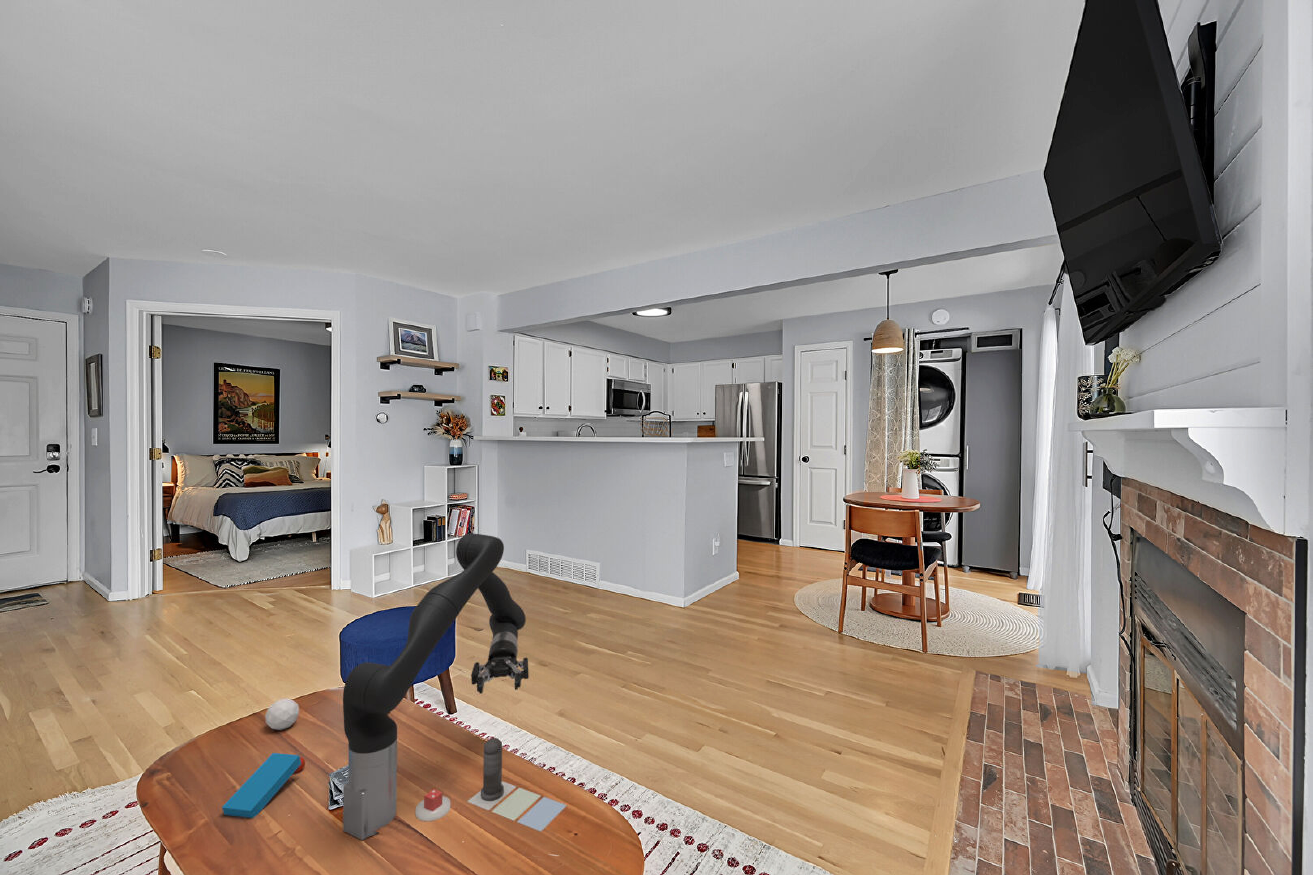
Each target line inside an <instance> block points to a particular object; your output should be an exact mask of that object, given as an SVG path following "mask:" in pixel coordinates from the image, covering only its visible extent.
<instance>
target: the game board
mask: <svg viewBox="0 0 1313 875" xmlns="http://www.w3.org/2000/svg"><path fill="white" fill-rule="evenodd" d="M502 785H503V786H504V794H503V796H502V797H501V798H499V799H497V800H494V801H485V800H483V799H482V798H481V790H479V791H478V792H477V793H475V795H474V796H472V797H470V798H469V799H468V800H467V801H466V802H467V803H469V804H472V805H474V806H476V807H479V808H481V809H484V810H487V811H490V810H491V809H492V808H493V807H494V806H495V807H494V808H493V809H492V810H491V813H494V814H496V815H499V816H502V817H504V818H506V819H507V820H508V819H509V820H511V821H515V820H516V819H518V818H519V817H520V816H521V815H523V813H524V812H525V811H526V810H528V809H529V807H531V806H532V805H533V804H534V803H535V802H536V801H537V800H539V798H541V797H542V795H541V794H538V793H534V792H532V791H529V790H527V789H524V788H522V787H518V788H517V786H516V785H513V784H510V783H509V782H505V781H502ZM516 788H517V789H516ZM514 789H516V790H514ZM513 790H514V792H513ZM510 793H511V794H510ZM509 794H510V795H509ZM508 795H509V796H508ZM507 796H508V797H507ZM505 797H506V798H505ZM504 798H505V799H504ZM503 799H504V800H503ZM502 800H503V801H502ZM500 801H502V802H501V803H499V802H500ZM498 803H499V804H498ZM497 804H498V805H497ZM496 805H497V806H496ZM566 807H567V804H565V803H563V802H559V801H557V800H555V799H551V798H548V797H546V796H543V797H542V798H541V799H540V800H539V801H538V802H537V803H536V804H535V805H534V806H532V807H531V808H530V809H529V810H528V811H527V812H526V813H525V814H524V815H523V816H522V817H521V818H520V819H518V820H517V823H518V824H521V825H523V826H526V827H528V828H531V829H534V830H536V831H538V832H543V830H544V829H545V828H546V827H547V826H548V825H549V824H550V823H551V822H552V821H553V820H554V819H555V818H556V817H557V816H558V815H559V814H560V813H561V812H562V811H563V810H564V809H566Z"/></svg>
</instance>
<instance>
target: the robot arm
mask: <svg viewBox="0 0 1313 875" xmlns="http://www.w3.org/2000/svg"><path fill="white" fill-rule="evenodd" d="M456 544H457V545H456V551H455V554H456V559H457V562H458V563H459V565H460V567H461V568H462V569H463V570H462V571H461V572H459V573H457V574H456V575H454V576H452V577H450V578H448V579H445V580H444V581H442V582H441V583H439V584H437V585H436V586H433V587H432V588H431V589H430V590H429V591H427V593H426V594H425V595H424V596H423V598H422V599H421V600H420V601H419V603H418V604H417V605H416V606H415V607H414V608H413V611H412V612H411V615H410V617H409V623H408V632H407V633H408V634H407V641H406V644H405V646H404V648H403V649H402V651H400V652H401V653H400V654H399V655H398V656H397V658H396V659H395V660H394V661H393V662H392V663H391V664H390V665H386V664H381V663H376V662H375V663H374V662H363V663H360V664H358V665H357V666H355V667H354V668H353V669H352V670H351V671H350V672H349V674H348V676H347V678H346V681H345V682H344V686H343V692H342V693H343V695H342V710H343V712H342V713H343V727H344V728H343V729H344V730H343V731H344V734H345V737H346V739H347V742H348V746H347V747H348V762H347V763H348V764H347V769H348V770H347V783H345V784H344V785H343V794H342V795H343V799H342V800H343V801H342V803H343V805H342V806H343V808H342V809H343V810H342V823H343V824H342V831H343V832H345V833H347V834H349V835H351V836H353V837H355V838H358V840H359V839H360V840H362V841H363V840H365V839H366V838H368V837H369V838H370V837H372V836H375V835H378V834H380V832H379V831H377V830H379V829H382V828H383V827H385V826H387V825H388V824H389V823H391V822H392V821H393V820H394V819H395V817H396V816H397V815H396V814H397V792H398V791H397V789H398V788H397V787H398V786H397V784H398V783H397V782H398V779H397V778H398V771H397V770H398V725H397V723H396V722H395V720H394V719H393V718H392V717H390V716H389V715H388V714H390V713H391V712H393V711H394V710H395V709H396V708H397V707H398V706H399V704H400V703H401V702H402V700H403V699H404V698H405V696H406V695H407V693H408V692H409V690H410V688H411V686H412V685H413V683H414V681H415V679H416V678H417V677H418V674H419V672H420V671H421V669H422V668H423V666H424V664H425V663H426V661H427V659H428V658H429V656H430V655H431V654H432V652H433V651H434V649H436V648H435V647H436V646H437V644H438V643H439V642H440V641H441V639H442V638H443V636H444V635H445V634H446V633H447V631H448V630H449V629H450V627H451V626H452V624H453V623H454V622H455V621H456V619H457V617H458V616H459V614H460V613H461V611H462V609H463V608H465V605H466V604H467V603H468V602H469V600H470V599H471V597H472V596H474V593H476V591H477V590H479V592H480V593H481V596H482V597H483V600H484V601H485V604H486V606H487V608H488V611H489V612H490V614H491V615H490V616H489V622H488V625H489V628H490V630H491V633H492V638H491V642H490V646H489V650H488V651H489V652H488V657H487V662H486V663H485V664H480V662H479V661H478V662H475V663H474V664H473V668H472V672H471V675H470V677H471V679H470V680H471V684H472V685H476V692H478V694H479V695H480V694H483V693H484V688H485V684H486V683H489V682H490V681H492V680H493V679H496V678H500V677H501V678H506V677H509V678H510V679H511V680H514V690H515V691H518V688H521V686H522V684H521V683H522V679H524V680H528V679H529V677H530V676H529V675H530V674H529V659H528V657H524V658H523V659H522V660H519V661H518V660H517V658H518V651H519V650H518V648H519V646H518V638H519V636H518V635H519V632H518V631H519V630H522V629H523V628H524V626H525V625H526V622H527V619H526V614H525V611H524V610H523V609H522V607H521V606H520V605H519V604H518V603H517V602H516V601H514V599H513V598H512V596H511V594H510V591H509V588H508V586H507V585H506V584H505V582H504V581H503V580H502V579H501V578H500V576H498V575H497V574H496V573H495V572H494V571H495V570H496V568H497V567H498V565H499V564H500V562H501V560H502V557H503V556H504V550H505V546H504V542H503V540H502V539H500V538H499V537H496V536H493V535H488V534H481V533H466V534H464V535H462V537H460V539H459V541H458V542H457V543H456ZM519 667H520V669H521V670H520V669H519Z"/></svg>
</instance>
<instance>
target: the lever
mask: <svg viewBox="0 0 1313 875" xmlns="http://www.w3.org/2000/svg"><path fill="white" fill-rule="evenodd" d="M305 765H306V760H305V758H304V757H301V756H300V755H298V754H288V753H278V752H272V753H271V754H270V755H269V756H268V757H267V758H266V759H265V761H264V762H263V763H262V764H261V765H260V766H259V767H258V768H257V769H256V770H255V772H253V773H252V775H251V776H250V777H249V778H248V779H247V780H246V781H245V782H244V783H243V784H242V785H241V786H240V788H239V789H238V790H237V791H236V792H235V793H234V794H233V795H232V796H231V797H230V798H229V799H228V800H227V802H225V803H224V805H223V806H221V809H222V811H223V815H224V816H230V817H231V816H233V817H240V818H250V819H254V818H255V817H256V816H258V815H259V813H260V812H261V811H262V810H263V809H264V808H265V806H266V805H267V804H268V803H269V802H270V801H271V799H272V798H273V797H274V796H275V795H276V794H277V793H278V791H279V790H280V789H282V787H283V786H284V784H286V782H287V781H288V780H289V779H290V777H292V776H293V774H297V773H300V772H301V771H302V770H303V769H304V768H305Z"/></svg>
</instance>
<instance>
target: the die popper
mask: <svg viewBox="0 0 1313 875" xmlns="http://www.w3.org/2000/svg"><path fill="white" fill-rule="evenodd" d="M423 798H424V799H422V800H421V801H420V802H419V803H418V804H417V805H416V807H415V817H416V818H417V819H418V820H419V821H423V822H433V821H436V820H439V819H442V818H443V817H444V816H446V815H447V814H448V813H449V812H450V810H451V800H450V799H449V797H447V796H444V795H443V791H439V790H437V789H432V790H430V791H429V792H428V793H426V794H424V796H423Z"/></svg>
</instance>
